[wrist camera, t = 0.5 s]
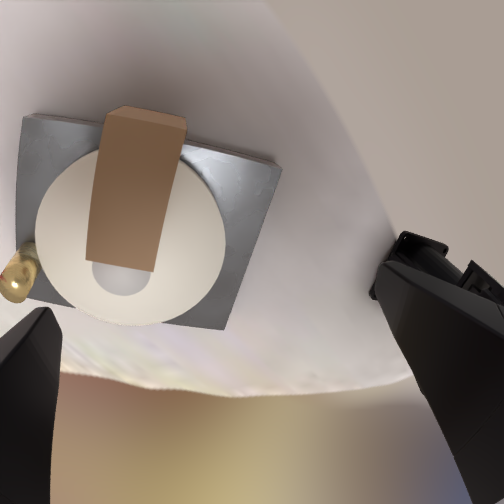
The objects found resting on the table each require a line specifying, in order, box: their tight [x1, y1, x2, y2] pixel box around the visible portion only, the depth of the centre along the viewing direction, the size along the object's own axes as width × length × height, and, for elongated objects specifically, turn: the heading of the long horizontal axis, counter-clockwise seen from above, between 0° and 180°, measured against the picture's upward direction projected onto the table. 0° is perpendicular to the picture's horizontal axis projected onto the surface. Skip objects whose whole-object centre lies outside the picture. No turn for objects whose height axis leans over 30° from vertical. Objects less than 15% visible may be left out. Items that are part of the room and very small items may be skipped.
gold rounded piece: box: [0, 242, 42, 303], centre depth 15 cm, size 2×2×4 cm
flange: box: [35, 105, 226, 326], centre depth 15 cm, size 11×13×5 cm
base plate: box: [16, 114, 282, 330], centre depth 19 cm, size 15×12×2 cm
